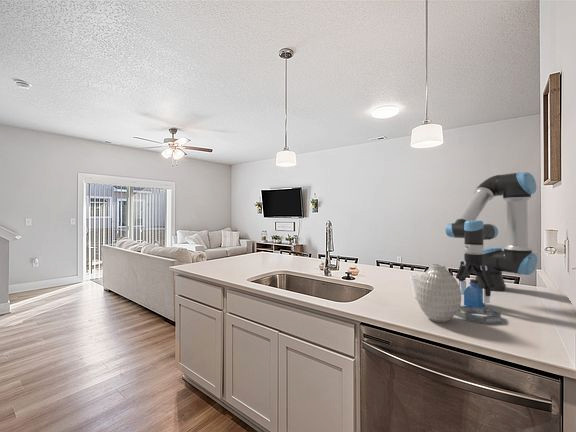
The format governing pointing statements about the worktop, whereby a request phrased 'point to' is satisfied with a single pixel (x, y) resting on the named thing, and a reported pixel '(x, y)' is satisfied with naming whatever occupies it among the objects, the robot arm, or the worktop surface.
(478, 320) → the ring
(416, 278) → the cup
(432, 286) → the vase
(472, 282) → the perfume bottle
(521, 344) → the worktop surface
